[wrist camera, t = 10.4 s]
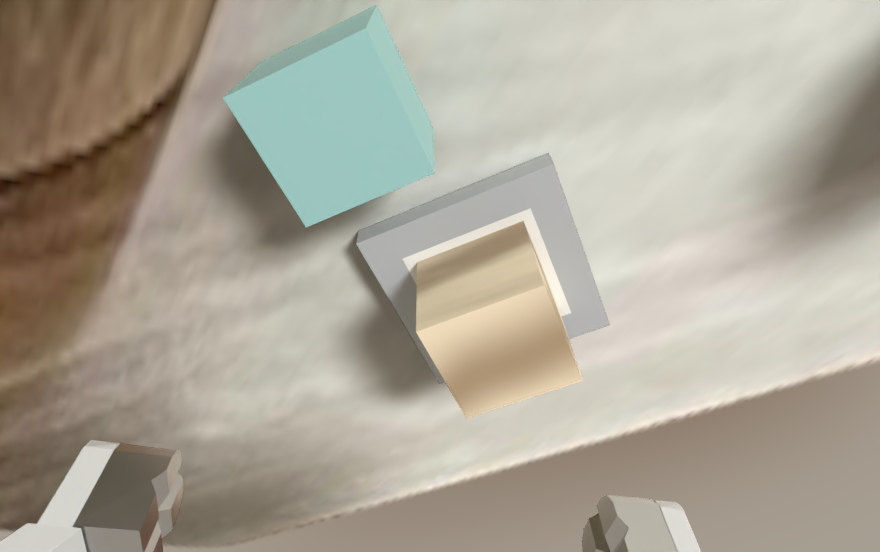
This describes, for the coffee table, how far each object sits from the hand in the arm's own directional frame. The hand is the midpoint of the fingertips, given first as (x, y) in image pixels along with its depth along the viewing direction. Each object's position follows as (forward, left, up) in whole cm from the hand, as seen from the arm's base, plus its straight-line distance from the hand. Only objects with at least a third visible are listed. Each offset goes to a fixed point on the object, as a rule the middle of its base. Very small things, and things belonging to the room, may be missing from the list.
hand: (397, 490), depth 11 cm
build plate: (+6, +1, -16) cm, 17 cm away
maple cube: (+6, +1, -15) cm, 16 cm away
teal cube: (-4, -1, -16) cm, 17 cm away
